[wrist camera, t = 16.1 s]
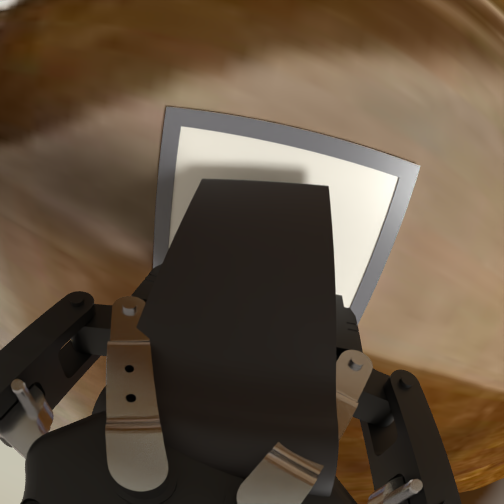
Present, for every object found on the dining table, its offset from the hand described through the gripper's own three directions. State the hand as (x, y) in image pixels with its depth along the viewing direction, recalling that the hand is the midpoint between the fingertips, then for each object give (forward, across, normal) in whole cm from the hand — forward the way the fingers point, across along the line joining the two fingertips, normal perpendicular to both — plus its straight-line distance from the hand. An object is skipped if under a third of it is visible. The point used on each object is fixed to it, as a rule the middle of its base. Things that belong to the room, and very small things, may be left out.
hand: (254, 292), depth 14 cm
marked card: (+5, 0, 0) cm, 5 cm away
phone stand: (+3, 0, 0) cm, 3 cm away
